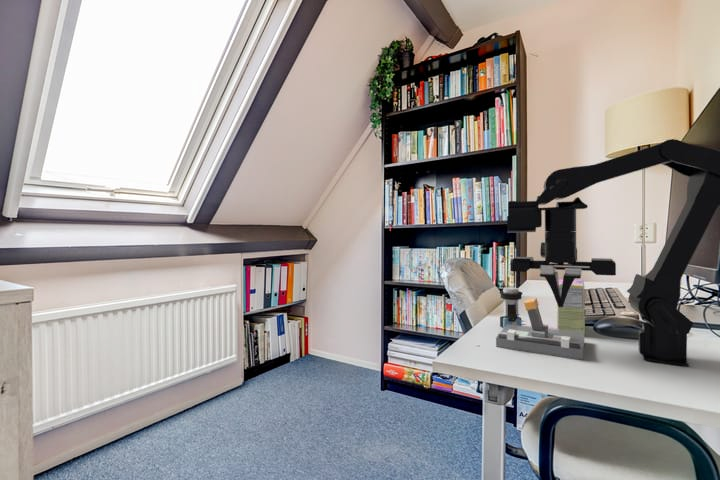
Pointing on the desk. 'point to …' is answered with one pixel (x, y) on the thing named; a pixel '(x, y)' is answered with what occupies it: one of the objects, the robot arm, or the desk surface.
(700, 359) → the desk surface
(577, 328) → the box
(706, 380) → the desk surface
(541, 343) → the breaker panel
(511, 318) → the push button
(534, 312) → the lever
